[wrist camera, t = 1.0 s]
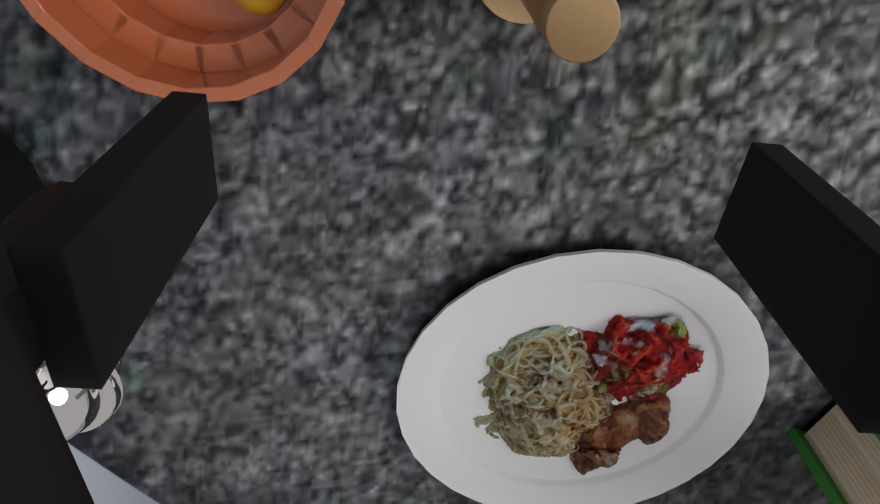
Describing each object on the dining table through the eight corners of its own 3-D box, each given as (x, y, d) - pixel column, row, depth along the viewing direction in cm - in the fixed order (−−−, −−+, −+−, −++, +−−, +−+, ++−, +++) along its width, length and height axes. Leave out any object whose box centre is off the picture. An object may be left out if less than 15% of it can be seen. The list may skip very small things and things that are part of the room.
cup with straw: (127, 344, 48) (-33, 605, 31) (25, 268, 44) (-221, 522, 27) (202, 292, 46) (70, 548, 29) (101, 207, 42) (-121, 446, 25)
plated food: (353, 458, 56) (349, 490, 53) (479, 183, 41) (483, 207, 38) (637, 522, 62) (647, 554, 59) (839, 304, 47) (865, 333, 44)
